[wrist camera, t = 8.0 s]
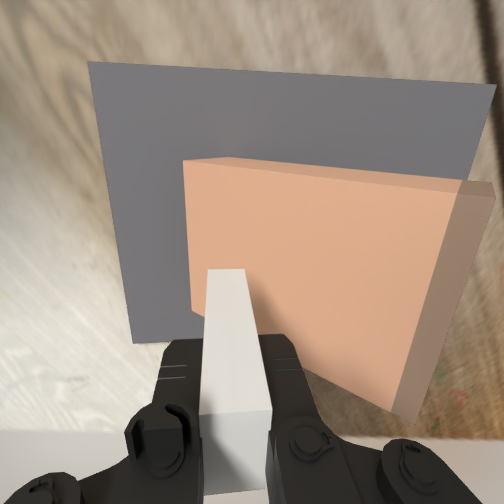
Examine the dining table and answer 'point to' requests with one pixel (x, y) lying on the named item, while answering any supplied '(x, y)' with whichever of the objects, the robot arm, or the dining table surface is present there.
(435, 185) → the pink rectangular block
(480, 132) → the mat
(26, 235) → the dining table surface
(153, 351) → the dining table surface
